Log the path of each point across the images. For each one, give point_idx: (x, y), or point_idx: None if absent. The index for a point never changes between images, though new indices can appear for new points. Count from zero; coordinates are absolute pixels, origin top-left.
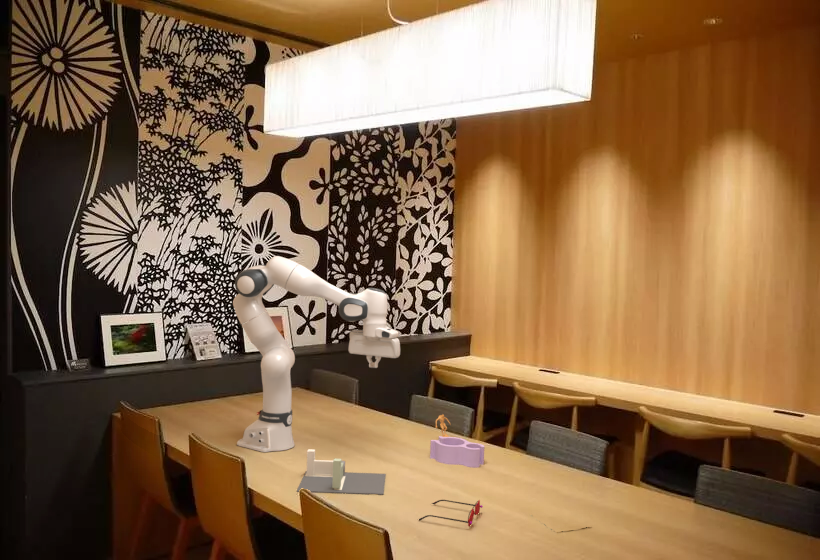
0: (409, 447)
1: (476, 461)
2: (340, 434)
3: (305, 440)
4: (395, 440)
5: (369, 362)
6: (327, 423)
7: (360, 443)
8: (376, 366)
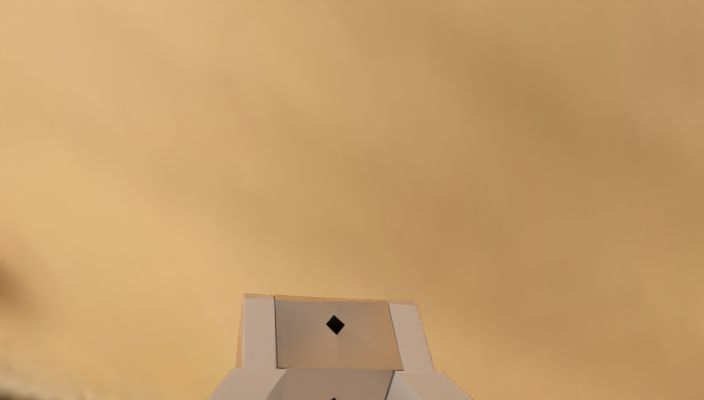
0: (113, 137)
1: None
2: (527, 203)
3: (698, 51)
4: (231, 215)
5: (426, 376)
6: (610, 317)
7: (395, 107)
8: (240, 329)
